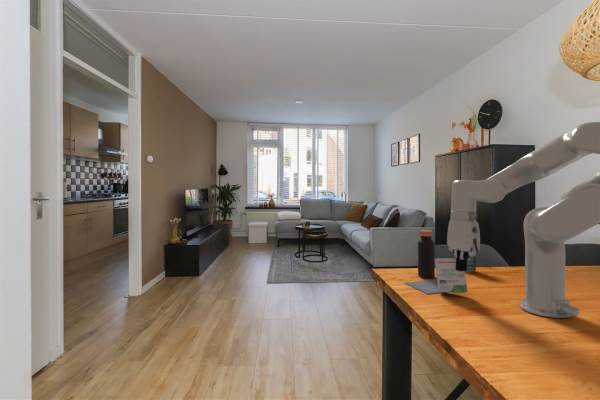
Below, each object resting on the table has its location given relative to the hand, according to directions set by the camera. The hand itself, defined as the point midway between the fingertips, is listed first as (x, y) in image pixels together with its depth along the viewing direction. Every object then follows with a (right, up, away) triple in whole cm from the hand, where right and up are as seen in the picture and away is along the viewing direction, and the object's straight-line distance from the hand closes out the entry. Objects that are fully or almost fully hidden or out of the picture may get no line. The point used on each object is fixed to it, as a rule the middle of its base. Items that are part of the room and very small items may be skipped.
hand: (461, 270), depth 102 cm
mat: (-3, -10, +15) cm, 18 cm away
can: (+23, -9, +37) cm, 45 cm away
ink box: (0, -9, +4) cm, 10 cm away
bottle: (+1, -10, +29) cm, 31 cm away
